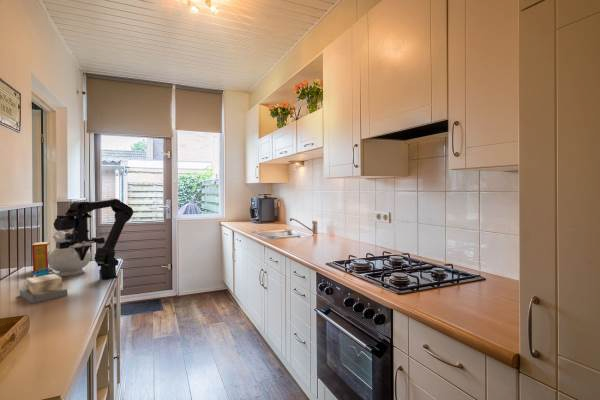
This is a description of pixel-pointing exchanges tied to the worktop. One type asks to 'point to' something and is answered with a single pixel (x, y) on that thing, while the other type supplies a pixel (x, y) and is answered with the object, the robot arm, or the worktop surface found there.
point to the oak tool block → (44, 284)
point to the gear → (42, 272)
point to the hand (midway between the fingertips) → (81, 260)
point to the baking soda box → (40, 256)
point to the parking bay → (42, 297)
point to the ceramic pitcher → (67, 258)
